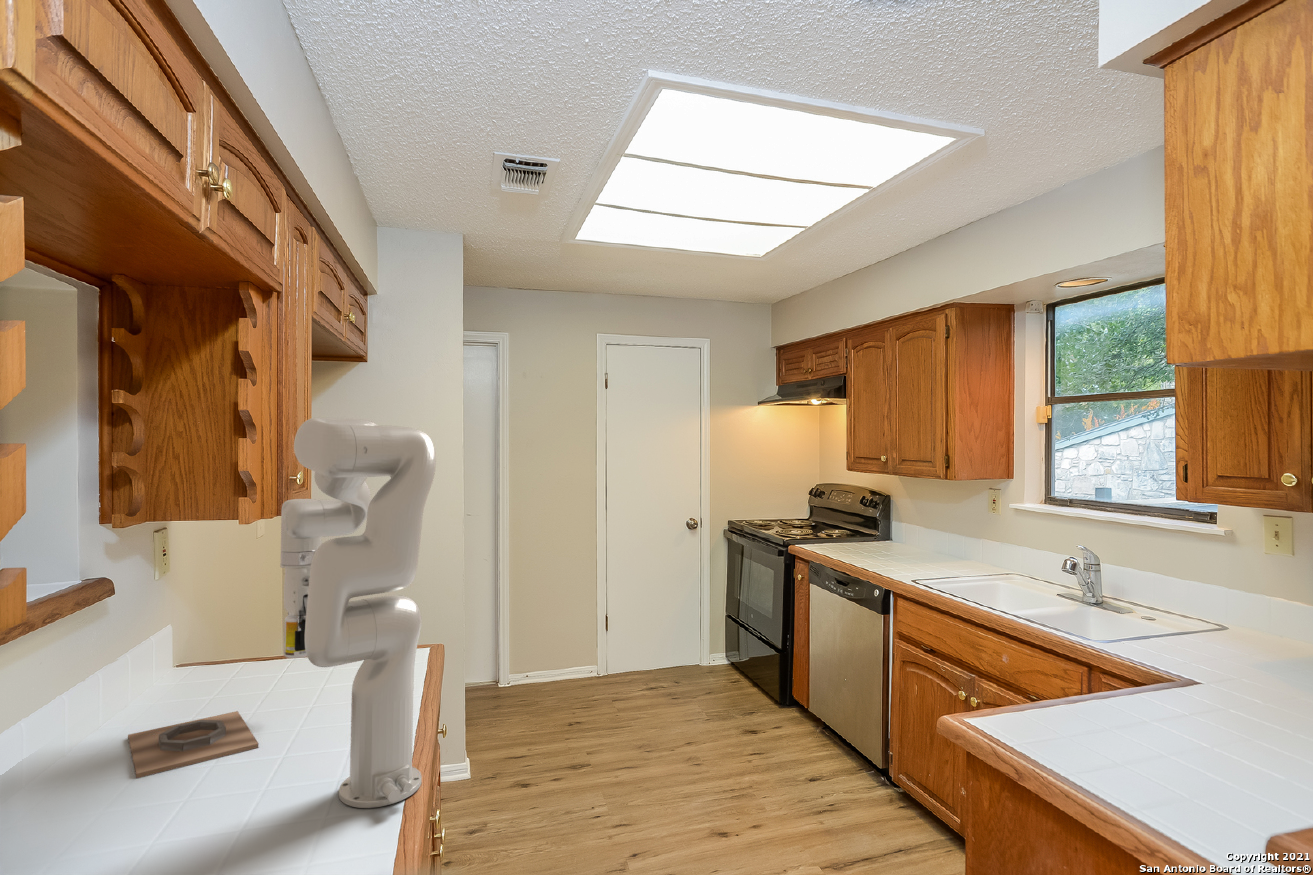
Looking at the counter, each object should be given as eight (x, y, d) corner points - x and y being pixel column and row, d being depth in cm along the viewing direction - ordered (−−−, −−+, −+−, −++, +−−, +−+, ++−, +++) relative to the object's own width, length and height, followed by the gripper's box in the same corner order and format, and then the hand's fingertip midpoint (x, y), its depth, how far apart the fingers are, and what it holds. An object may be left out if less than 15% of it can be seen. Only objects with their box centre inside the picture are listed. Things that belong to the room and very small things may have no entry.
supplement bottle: (317, 655, 137) (318, 606, 138) (286, 661, 134) (287, 609, 134) (310, 649, 142) (311, 601, 142) (281, 654, 138) (282, 604, 138)
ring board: (258, 747, 124) (258, 735, 124) (136, 778, 112) (136, 764, 112) (237, 714, 139) (237, 703, 139) (127, 738, 127) (128, 726, 127)
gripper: (332, 561, 134) (331, 652, 134) (309, 552, 147) (307, 634, 147) (291, 565, 129) (289, 659, 129) (271, 555, 142) (269, 640, 142)
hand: (299, 645), depth 138 cm, fingers closed on supplement bottle, 5 cm apart
